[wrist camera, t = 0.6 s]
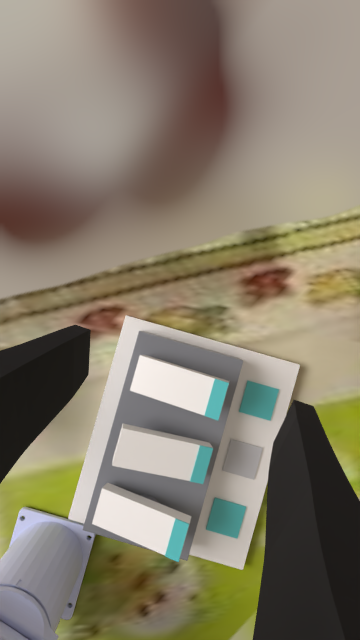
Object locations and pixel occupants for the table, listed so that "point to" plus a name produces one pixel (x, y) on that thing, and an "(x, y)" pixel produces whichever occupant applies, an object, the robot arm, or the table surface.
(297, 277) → the table surface
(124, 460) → the middle switch
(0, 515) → the table surface
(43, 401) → the robot arm
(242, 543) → the switch board
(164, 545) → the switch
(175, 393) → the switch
